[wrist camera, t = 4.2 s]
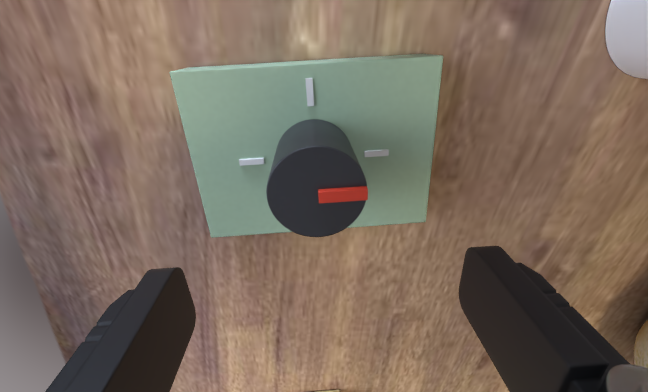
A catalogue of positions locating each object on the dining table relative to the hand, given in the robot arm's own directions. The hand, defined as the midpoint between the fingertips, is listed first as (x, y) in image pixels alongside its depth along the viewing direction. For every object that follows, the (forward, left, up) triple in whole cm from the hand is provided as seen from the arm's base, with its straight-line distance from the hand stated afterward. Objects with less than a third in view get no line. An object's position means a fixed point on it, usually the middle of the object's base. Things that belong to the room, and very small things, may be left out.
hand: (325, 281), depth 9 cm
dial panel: (0, 0, -13) cm, 13 cm away
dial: (0, 0, -10) cm, 10 cm away
